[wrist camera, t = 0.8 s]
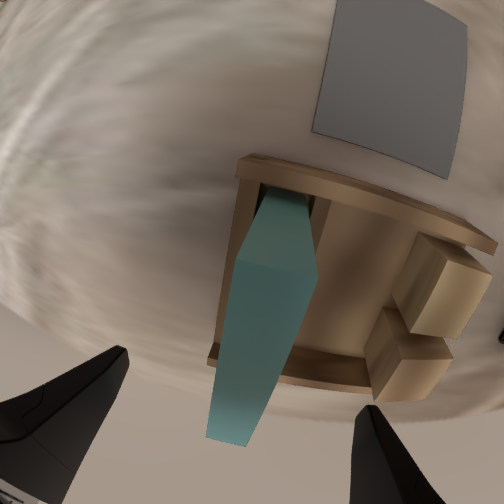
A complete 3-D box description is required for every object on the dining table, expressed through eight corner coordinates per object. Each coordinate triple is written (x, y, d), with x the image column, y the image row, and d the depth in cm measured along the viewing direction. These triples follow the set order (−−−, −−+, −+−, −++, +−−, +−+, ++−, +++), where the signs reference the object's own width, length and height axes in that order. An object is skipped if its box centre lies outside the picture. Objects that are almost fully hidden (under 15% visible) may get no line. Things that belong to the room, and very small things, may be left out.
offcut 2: (428, 311, 16) (453, 359, 12) (406, 351, 18) (423, 399, 13) (382, 306, 16) (401, 359, 12) (363, 349, 18) (373, 401, 14)
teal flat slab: (305, 195, 14) (318, 278, 6) (266, 333, 19) (245, 446, 11) (269, 186, 14) (235, 258, 6) (238, 326, 19) (205, 437, 11)
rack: (466, 220, 14) (498, 243, 10) (393, 360, 20) (403, 395, 16) (252, 153, 15) (238, 159, 11) (220, 327, 20) (206, 365, 17)
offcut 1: (461, 246, 14) (492, 276, 10) (434, 303, 16) (456, 339, 12) (417, 231, 14) (447, 260, 10) (391, 293, 16) (409, 332, 12)
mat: (464, 26, 8) (466, 25, 8) (444, 178, 13) (447, 179, 13) (341, -28, 9) (342, -31, 8) (311, 131, 14) (311, 131, 13)
